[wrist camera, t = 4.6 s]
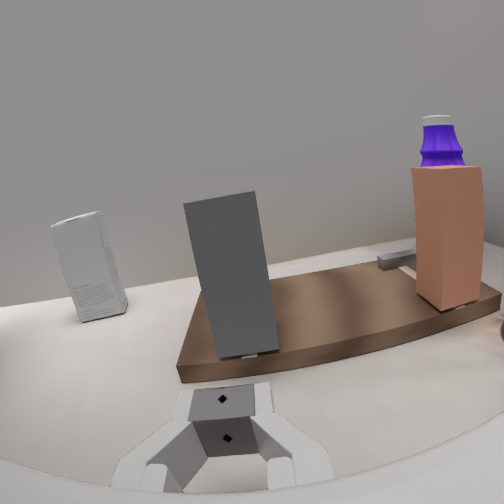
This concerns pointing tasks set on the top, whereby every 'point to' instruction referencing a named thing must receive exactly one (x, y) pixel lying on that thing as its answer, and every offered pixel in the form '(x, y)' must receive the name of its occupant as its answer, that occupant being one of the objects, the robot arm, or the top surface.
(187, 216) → the grey tall block
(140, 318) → the top surface
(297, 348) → the wooden board
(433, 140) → the bottle
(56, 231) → the skincare box
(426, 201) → the plug terracotta
